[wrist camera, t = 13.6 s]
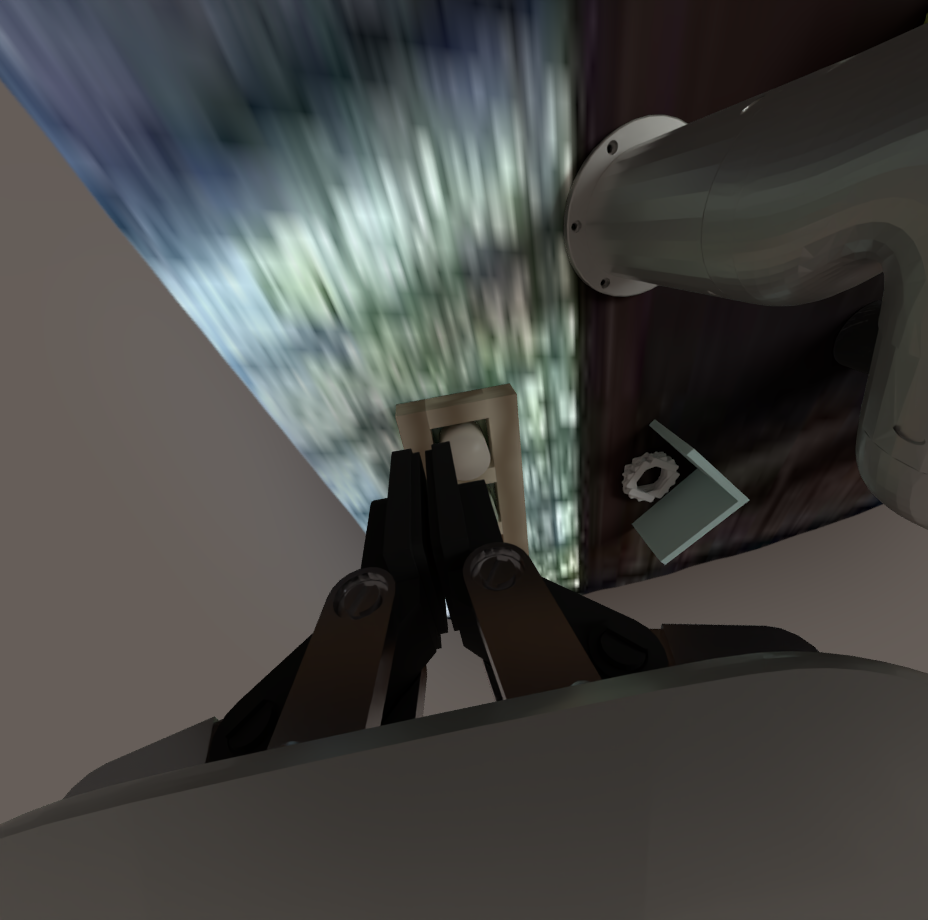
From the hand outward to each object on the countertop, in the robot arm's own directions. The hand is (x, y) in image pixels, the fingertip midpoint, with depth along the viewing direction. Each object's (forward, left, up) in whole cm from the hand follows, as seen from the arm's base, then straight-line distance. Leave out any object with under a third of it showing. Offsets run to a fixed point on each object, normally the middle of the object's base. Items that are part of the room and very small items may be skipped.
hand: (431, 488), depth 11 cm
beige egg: (-2, +13, -27) cm, 30 cm away
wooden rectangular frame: (-2, +21, -27) cm, 34 cm away
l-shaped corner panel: (-25, +24, -28) cm, 44 cm away
